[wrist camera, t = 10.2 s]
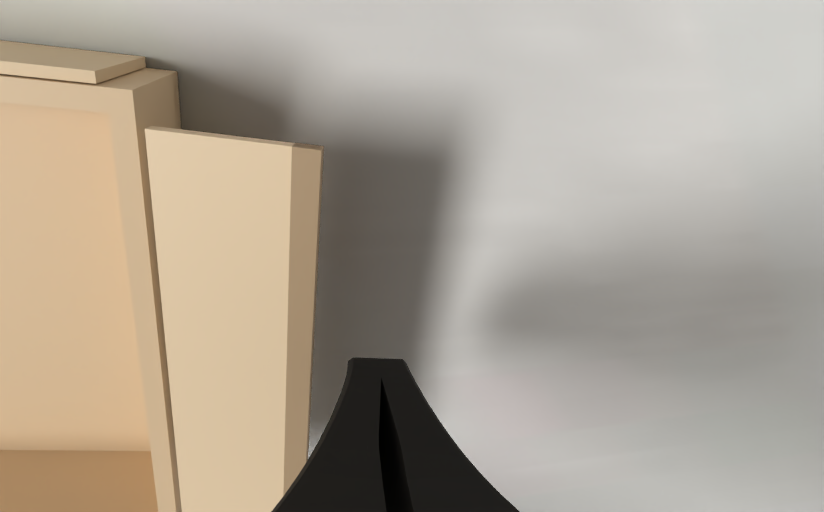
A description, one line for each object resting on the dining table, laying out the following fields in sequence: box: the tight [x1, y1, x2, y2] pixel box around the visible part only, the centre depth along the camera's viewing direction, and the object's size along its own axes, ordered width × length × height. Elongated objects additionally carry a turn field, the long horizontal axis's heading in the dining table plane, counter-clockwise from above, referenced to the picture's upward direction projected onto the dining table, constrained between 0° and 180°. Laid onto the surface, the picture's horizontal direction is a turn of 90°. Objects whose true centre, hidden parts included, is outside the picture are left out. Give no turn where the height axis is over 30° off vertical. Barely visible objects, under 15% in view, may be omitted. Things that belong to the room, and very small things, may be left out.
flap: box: [145, 126, 324, 512], centre depth 13 cm, size 12×1×4 cm
